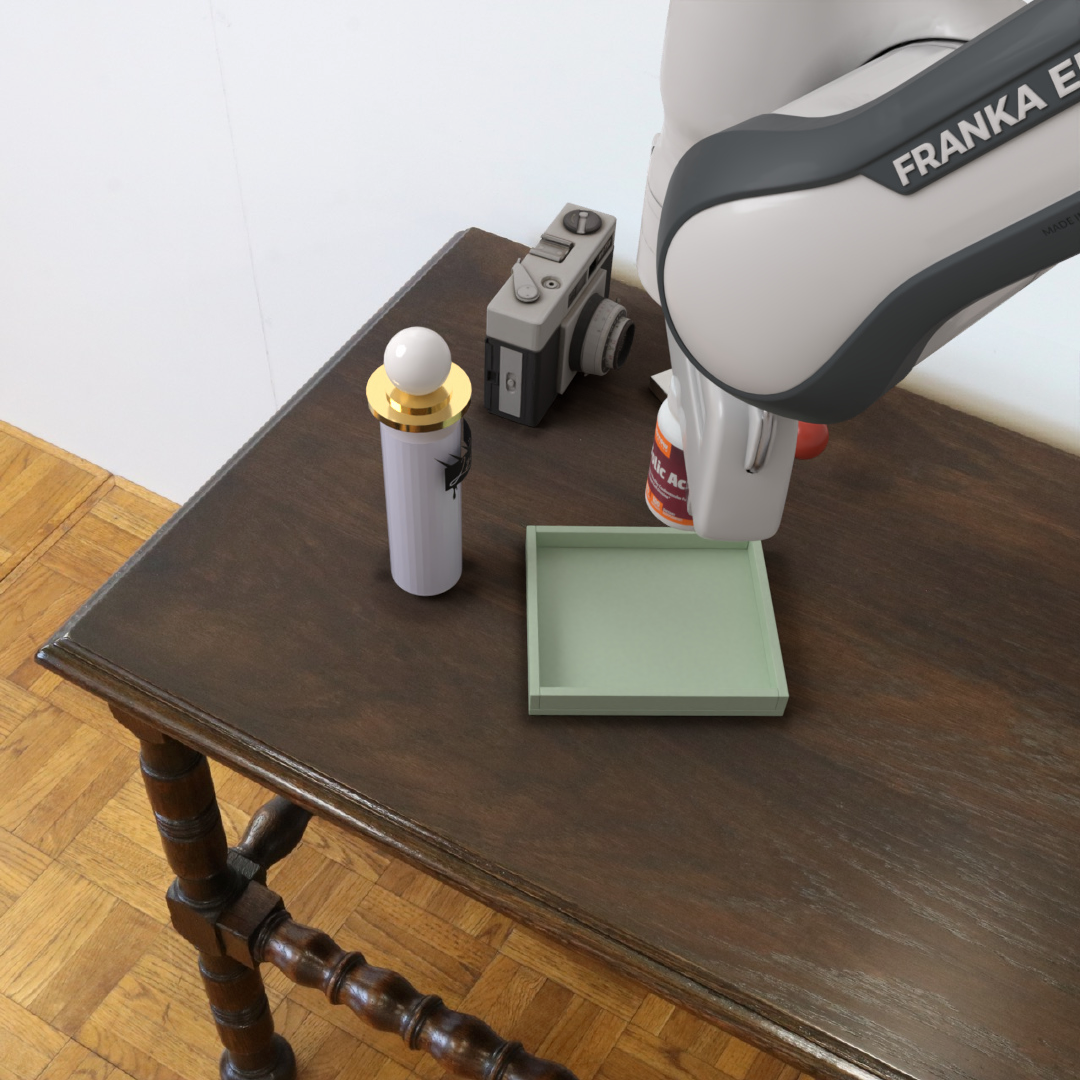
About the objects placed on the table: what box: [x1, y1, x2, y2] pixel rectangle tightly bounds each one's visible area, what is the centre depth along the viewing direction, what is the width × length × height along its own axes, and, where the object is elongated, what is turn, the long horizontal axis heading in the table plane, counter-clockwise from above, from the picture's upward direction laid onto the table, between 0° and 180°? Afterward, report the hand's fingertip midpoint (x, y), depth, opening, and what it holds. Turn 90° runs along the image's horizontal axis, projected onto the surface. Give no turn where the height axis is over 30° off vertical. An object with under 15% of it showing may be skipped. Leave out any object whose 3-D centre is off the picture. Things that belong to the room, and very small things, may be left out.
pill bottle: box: [644, 376, 695, 532], centre depth 65 cm, size 5×5×8 cm
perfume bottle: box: [365, 326, 473, 597], centre depth 74 cm, size 6×6×20 cm
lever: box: [794, 421, 830, 461], centre depth 85 cm, size 13×3×3 cm
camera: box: [483, 202, 636, 428], centre depth 91 cm, size 14×8×10 cm, turn 156°
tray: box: [525, 525, 790, 717], centre depth 79 cm, size 15×13×2 cm
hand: (696, 462), depth 66 cm, fingers closed on pill bottle, 5 cm apart
